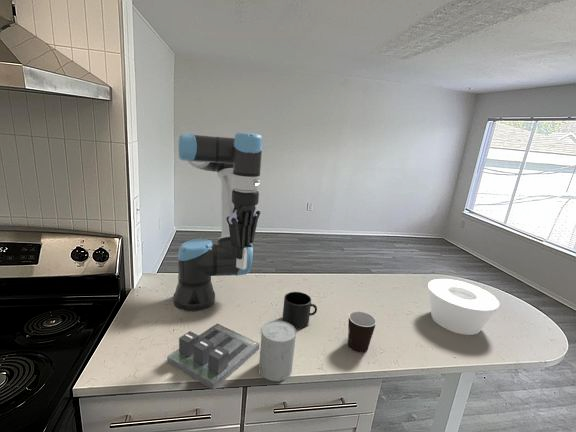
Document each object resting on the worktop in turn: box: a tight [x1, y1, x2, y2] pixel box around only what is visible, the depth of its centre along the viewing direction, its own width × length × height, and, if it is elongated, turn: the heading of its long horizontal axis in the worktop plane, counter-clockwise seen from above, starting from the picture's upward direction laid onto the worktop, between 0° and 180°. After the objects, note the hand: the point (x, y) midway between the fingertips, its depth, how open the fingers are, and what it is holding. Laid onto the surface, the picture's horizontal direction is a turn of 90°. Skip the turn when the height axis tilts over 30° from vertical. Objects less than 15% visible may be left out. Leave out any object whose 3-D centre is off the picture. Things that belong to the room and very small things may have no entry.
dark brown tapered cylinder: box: [347, 310, 377, 354], centre depth 105 cm, size 12×9×10 cm
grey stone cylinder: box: [258, 320, 297, 382], centre depth 91 cm, size 10×10×12 cm
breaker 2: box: [193, 338, 214, 365], centre depth 90 cm, size 4×4×5 cm
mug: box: [281, 291, 318, 329], centre depth 115 cm, size 9×12×9 cm
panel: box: [166, 323, 261, 391], centre depth 95 cm, size 17×20×2 cm
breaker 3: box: [208, 346, 229, 374], centre depth 87 cm, size 4×4×5 cm
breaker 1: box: [178, 331, 200, 357], centre depth 92 cm, size 4×4×5 cm
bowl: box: [427, 278, 500, 336], centre depth 124 cm, size 24×24×12 cm
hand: (241, 267), depth 97 cm, fingers closed
